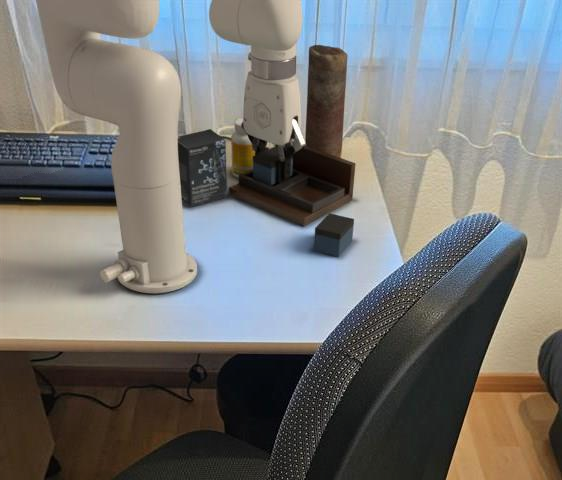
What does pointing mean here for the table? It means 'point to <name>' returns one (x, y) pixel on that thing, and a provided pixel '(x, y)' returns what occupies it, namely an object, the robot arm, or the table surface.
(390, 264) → the table surface
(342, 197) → the brown wooden organizer
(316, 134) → the candle
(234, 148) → the supplement bottle
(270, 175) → the dark grey block
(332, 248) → the blue lidded block
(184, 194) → the box
